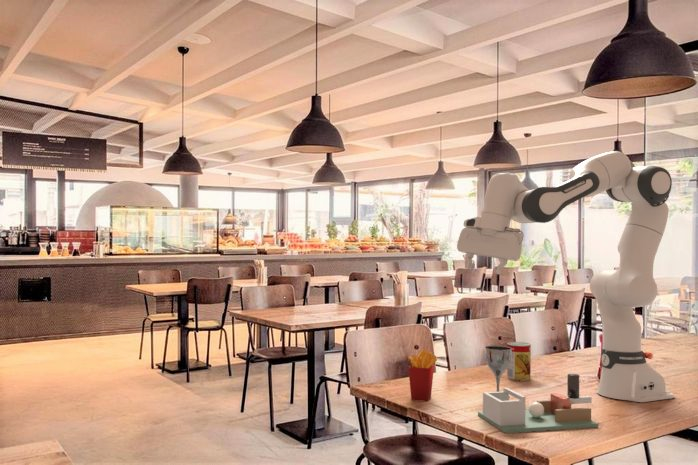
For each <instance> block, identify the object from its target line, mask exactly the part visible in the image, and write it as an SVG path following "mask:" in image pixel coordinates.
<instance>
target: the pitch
mask: <svg viewBox="0 0 698 465" xmlns="http://www.w3.org/2000/svg"><path fill="white" fill-rule="evenodd" d="M509 396H510V397H511V396H512V397H514V398H516V399H512V400H510V398H509ZM536 402H538V403H540V404H542V405H543V407H544V414H543V415H542V416H541V417H539V418H535V417H533V416H531V415H530V413H529V408H526V396H525V395H523V394H521V393H518V392H517V391H515V390H512V389H511V388H509V387H503V390H502V391H499V392H496V391H486V392H485V391H484V392H482V411H478V412H477V416H479V417H480V418H481V419H483V420H484V421H486V422H487V423H489V424H491V425H492V426H493V427H495V428H496V429H497V430H499V431H501V432H503V433H504V432H505V433H504V434H506V433H507V434H517V433H518V434H519V432H521V433H532V431H536V432H545V431H546V430H550V431H560V430H561V429H565V430H578V429H579V430H580V429H591V428H599V423H598V422H596V421H594V420H593V419H592V408H591V407H575V408H574V407H573V408H572V404H570V409H556V410H555V414H554V413H552V412H551V399H547V400H546V399H542V400H536ZM561 431H562V430H561ZM546 432H547V431H546Z"/></svg>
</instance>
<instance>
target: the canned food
mask: <svg viewBox="0 0 698 465" xmlns="http://www.w3.org/2000/svg"><path fill="white" fill-rule="evenodd" d="M506 344H507V345H506V346H507V347H511V349H512V353H511V362H510V365H509V367H508V369H507V370H506V372H507V373H506V374H507V375H506V377H507V379H508V380H511V381H512V380H513V381H519V380H520V381H523V382H524V381H525V382H526V381H530V380H531V371H532V370H531V368H532V367H531V365H532V364H531V361H532V360H531V357H532V356H531V354H532V352H531V351H532V350H531V349H532V348H531V347H532V346H531V344H530V343H529V342H524V341H509V342H507V343H506Z"/></svg>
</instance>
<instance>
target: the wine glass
mask: <svg viewBox="0 0 698 465" xmlns="http://www.w3.org/2000/svg"><path fill="white" fill-rule="evenodd" d="M511 353H512V349H511V347H507V345H498V344H497V345H496V344H495V345H493V344H492V345H491V344H490V345H486V346H485V347H484V356H485V362H486V365H487V367H488V368H489V370H490V371H491V372H492V373H493V375H494V378H495V381H496V391H495V392H500V382H501V378H502V375H503V374H504V373H505V372H507V369H508V367H509V365H510V362H511ZM510 398H511V395H509V399H510Z"/></svg>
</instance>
